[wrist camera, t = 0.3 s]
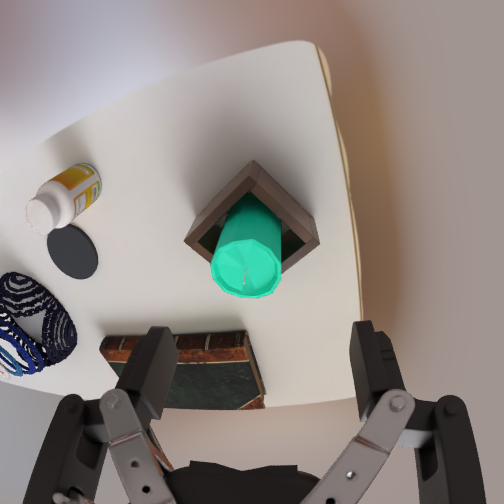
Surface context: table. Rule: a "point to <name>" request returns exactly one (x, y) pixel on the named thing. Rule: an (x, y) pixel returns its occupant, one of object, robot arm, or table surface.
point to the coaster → (72, 252)
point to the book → (203, 371)
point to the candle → (248, 250)
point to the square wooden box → (275, 198)
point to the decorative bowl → (34, 349)
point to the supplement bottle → (63, 198)
